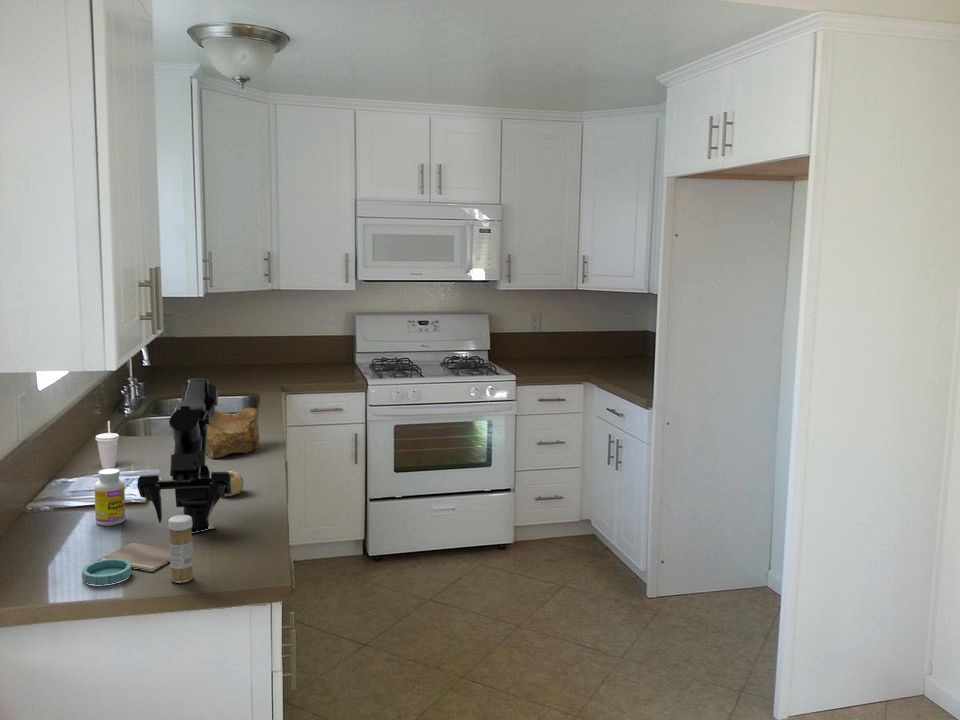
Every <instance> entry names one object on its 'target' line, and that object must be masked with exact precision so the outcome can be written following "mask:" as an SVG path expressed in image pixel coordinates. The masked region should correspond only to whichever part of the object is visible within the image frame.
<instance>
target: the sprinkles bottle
mask: <svg viewBox="0 0 960 720" xmlns="http://www.w3.org/2000/svg"><path fill="white" fill-rule="evenodd" d="M168 529H169V548H170V581H171V580H173V581H177V582H178V581H181V582H183V581H187V580H190V579H191V578H192V577H193V576H194V568H193V565H194V556H193V555H194V552H193V551H194V549H193V548H194V547H193V544H194V543H193V534H192V517H191V516H188V515H183V514H178V515H174V516H171V517H170V518H168Z"/></svg>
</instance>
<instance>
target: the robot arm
mask: <svg viewBox="0 0 960 720" xmlns="http://www.w3.org/2000/svg"><path fill="white" fill-rule="evenodd" d="M181 389H182V391H181V402H178V403H177V404H176V406H175V409H174V410H173V411H172V412H171V414H170V417H169V421H168V423H169V428H170V429H171V436H172V439H173V441H174V449H173V453H172V454H170V472H169V476H170V477H171V479H163V480H162V479H161V480H160V477H159V474H158V473H156V474H155V473H153V474H151V473H150V474H149V473H147V474H140V476H138V478H137V483H136V486H137V490H138V493H139V496H140V497H141V498H144V499H146V501H149V502H152V505H153V506H154V509H155V512H156V517H157V520H158V523H162V519H163V515H162V514H163V508H162V506H163V505H162V495H161V493H162V491H161V490H173V489H174V494H175V496H174V497H175V507H176V508H182V509H183V511H182V512H183V514H182V515H188V516H191V517H192V532H196V531H201V530H205V529H208V526H209V523H210V522H209V518H210V516H211V514H212V512H213V510H214V508H215V506H216V504H218V502H219V500H220V499H221V498H222V499H223V498H225V497H226V496H225V494H230V493H231V474H230V473H229V472H225V471H212V472H210V470H209V468H208V465H207V464H206V461H207V460H206V458H207V457H206V456H207V453H206V443H207V427H208V424H209V423H210V420H211V417H212V416H213V415H214V414H215V410H216V406H219V405H218V404H219V394H218V393H219V392H218V387H217V386H215V385H214V384H212V383H210V382H209V379H206V378H189V379H186V383H185V384H184V385H183V386H182V388H181Z"/></svg>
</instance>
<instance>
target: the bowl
mask: <svg viewBox="0 0 960 720" xmlns="http://www.w3.org/2000/svg"><path fill="white" fill-rule="evenodd" d="M132 571H133V569H132V563H130V562H129V561H128V560H124V559H117V558H116V559H104V560H100V561H97V560H95V561H92V562H90V563H88V564H87V565H84V567H83V569H82V570H81V578H82V582H83V581H84V582H85V583H88V584H95V585H104V584H105V585H106V584H112V583H116V582H119V581H121V580H124V579H126V578H127V577H129V576H130V575H131V573H132ZM132 574H133V573H132ZM131 576H132V575H131ZM84 582H83V583H84ZM85 583H84V584H85Z"/></svg>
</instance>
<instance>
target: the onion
mask: <svg viewBox="0 0 960 720" xmlns="http://www.w3.org/2000/svg"><path fill="white" fill-rule="evenodd" d="M224 472H229V473H230V474H231V493H230V494H225V497H231V496H230V495H233V496H236V495H235V494H237V495H239V494H240V493H241V492H242V491H243V489H244V485H245V481H244V479H243V477H242V475H241V474H240V473H238V472H236V471H234V470H228V471H224ZM238 493H239V494H238Z"/></svg>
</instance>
